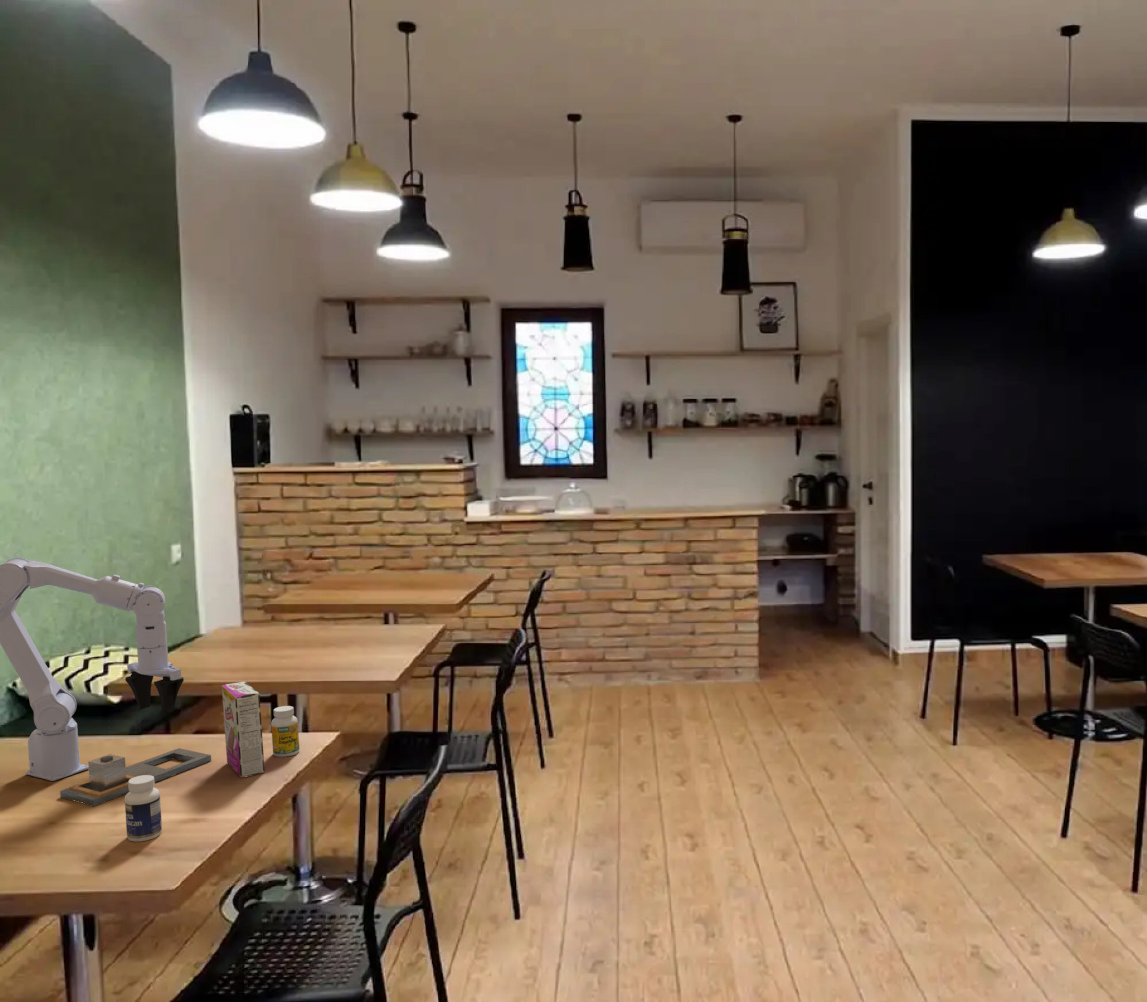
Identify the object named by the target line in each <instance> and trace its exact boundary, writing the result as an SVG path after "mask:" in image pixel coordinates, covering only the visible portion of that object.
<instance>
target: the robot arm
mask: <svg viewBox="0 0 1147 1002" xmlns="http://www.w3.org/2000/svg"><path fill="white" fill-rule="evenodd" d="M120 578H121V576H120V575H118V574H113V575H112V576H110V575H105V576H103V577H101V578H98V579H96V578H95V577H94V578H93V577H90V576H88V575H83V573H82V574H81V573H79V572H75V571H72V570H69V569H65V568H62V567H58V566H55V565H54V564H50V563H46V562H43V561H39V560H38V561H37V560H29V559H26V558H23V557H14V558H11V559H8V560H6V561H5V562H4V563H2V564H0V646H1V647H2V650H3V651H4V653H5V655H6V656H7V658H8V660H9V662H10V663H11V665H12V667H13V669H14V671H15V672H16V674H17V676H18V677H19V679H20V681H21V683H22V684H23V686H24V688H25V690H26V691H27V694H28V699H29V705H30V707H31V710H32V711H33V721H34V722H33V723H34V726H35V727H36V729H34V730H33V731H32V732H31V734H30V735H29V737H28V740H27V751H28V764H29V765H28V766H29V770H26V771H25V775H28V776H32V777H35V778H39V779H44V780H47V781H50V782H55V781H57V780H60V779H63V778H67V777H68V776H69V777H70V776H71V775H74V774H77V773H80V772H83V771H86V770H89V765H87V764H83V763H81V761H80V759H81V758H80V747H79V734H78V733H79V732H78V723H77V722H76V720H75V719H74V718H73V717H72V716H74V714H75V712H76V710H77V706H78V705H77V704H78V703H77V700H76V698H75V696H74V695H73V694H71V693H70V692H69V691H67V690H66V689H64V688H63V686H62V684H61V683H60V682H59V681H58V680H57V679H55V678H54V677H53V674H52V672H51V671H50V668H48V666H47V664H46V662H45V660H44V658H43V657H42V655H41V654H40V651H39V649H38V648H37V646H36V645H35V643H34V641H33V639H32V638H31V636H30V634H29V632H28V630H27V629H26V627H25V626H24V623H23V622H22V620H21V618H20V616H19V615H18V613H17V611H16V609H17V606H18V604H19V602H20V600H21V598H22V595H23V594H24V592H25V591H26V590H27V589H28V588H29V589H30V590H32V589H37V588H41V587H45V586H54V587H56V588H57V587H58V588H62V589H66V590H70V591H75V592H78V593H83V594H87V595H91V596H92V597H93V599H94V601H95V603H97V604H102V605H103V606H108V607H111V608H116V609H119V610H121V611H127V612H132V611H133V612H134V614H135V618H136V624H135V633H136V634H135V635H136V636H135V637H136V638H135V639H136V651H137V662H131V663H127V665H126V667H127V668H126V669H127V674H130V676H126V677H125V679H124V680H125V682H126V684H128V686H129V687H130V689H131V691H132V692H133V695H134V698H135V700H136V703H137V706H138V709H139V710H144V709H147V708H151V707H150V706H151V703H152V702H151V700H152V699H151V698H152V697H151V696H152V694H151V693H152V684H154V686H155V688H156V690H157V692H158V695H159V700H160V706H161V711H162V713H163V714H164V715H166V714H170V713H172V712H174V711H175V707H176V706H175V705H176V700H177V697H178V693H179V690H180V688H181V686H182V685H183V683H184V680H185V678H184V677H183V676H182V669H181V668H178V667H175V666H174V665H173V662H170V661H169V653H168V651H169V650H168V635H167V634H168V633H167V622H166V621H165V619H166V613H165V610H164V609H165V604H166V597H165V594H164V592H163V591H162V590H161V589H160V588H158V587H156V586H154V585H146V586H145V583H142V582H138V583H135V582H131V581H128V580H123V579H120ZM154 677H158V678H162V679H158V680H156V681H153V680H154Z"/></svg>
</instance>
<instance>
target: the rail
mask: <svg viewBox="0 0 1147 1002" xmlns="http://www.w3.org/2000/svg"><path fill="white" fill-rule="evenodd" d="M171 760H179V761H184V762H181V763H179V764H176V765H173V766H171V767H168V768H164V767H159V766H157V765H156V764H158V765H159V763H160V764H163V763H166V762H168V761H171ZM165 761H166V762H165ZM208 761H209V762H212V755H211V754H208V753H207V754H206V753H203V752H199V751H194V750H189V749H185V748H181V747H180V748H179V747H178V748H175V749H173V750H170V751H168V752H165V753H162V754H158V755H156V756H153V757H151V758H148V759H145V760H143V761H140V762H137V763H134V764H131V765H129V766H126V781H127V782H126V783H124V784H121V785H119V786H116V787H113V788H111V789H108V790H105V791H103V792H98V791H94V790H90V779H88V780H85V781H83V782H80V783H78V784H73V785H72V786H69V787H67V788H64V789H62V790H60V791H59V795H60V798H61V799H66V800H69V801H72V800H75V801H74V802H76V801H79V802H83V803H85V804H84V805H87V804H88V805H87V806H90V805H92V806H91V807H96V806H98V805H101V804H103V803H102V802H104V801H106V802H108V801H107V800H109V801H110V800H111V801H112V800H113V799H116V798H119V797H121V796H124V795H127V794H128V793H129V792H130V791H129V788H128V781H129V780H130V779H132V778H134V777H137V776H142V775H151V776H153V777H154V783H157V781H158V782H160V781H163V780H165V779H168V778H170V776H171V777H173V776H175V775H174V774H176V775H179V774H181V773H183V772H186V771H189V770H191V769H193V768H195V767H199V766H201V765H204V764H206V762H207V763H209V762H208ZM162 762H163V763H162ZM203 763H204V764H203ZM198 765H199V766H198ZM188 769H189V770H188ZM172 775H173V776H172ZM167 777H168V778H167ZM162 779H163V780H162ZM79 802H78V803H79ZM83 803H82V804H83ZM100 803H101V804H100ZM104 803H105V802H104ZM97 804H98V805H97ZM95 805H96V806H95Z"/></svg>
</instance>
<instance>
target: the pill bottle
mask: <svg viewBox="0 0 1147 1002" xmlns="http://www.w3.org/2000/svg"><path fill="white" fill-rule="evenodd" d="M155 783H156V782H155ZM155 783H154V777H153V776H151V775H142V776H137V777H134V778H132V779H130V780H129V781H128V788H129V791H130V792H129V793H127V794H125V796H124V808H125V810H124V811H125V824H126V825H125V827H126V838H127V840H128V841H131V842H146V841H151V840H153V839H155V838H157V837H158V836H160V835H161V833H162V831H163V825H162V823H163V821H162V807H161V793H160V790H159V789H158V788H156V787H155ZM150 839H151V840H150Z"/></svg>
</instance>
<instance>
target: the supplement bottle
mask: <svg viewBox="0 0 1147 1002" xmlns="http://www.w3.org/2000/svg"><path fill="white" fill-rule="evenodd" d="M294 710H295V709H294V706H291V705H283V706H278V707H275V708H274V709H273V716H274V718H273V719H272V720H271V722H270V725H271V726H270V727H271V728H270V729H271V739H272V740H271V741H272V754H273V755H274V756H275V757H277V758H287V756H288V757H292V756H295V755H297V754H298V753H299V752H300V738H299V722H298V718H297V717H296V716H295V715H294V714H295V711H294Z"/></svg>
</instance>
